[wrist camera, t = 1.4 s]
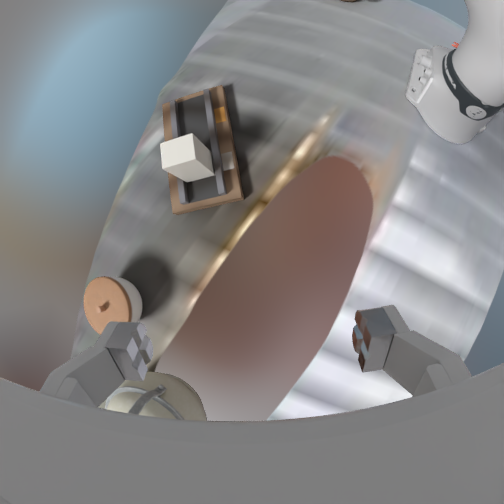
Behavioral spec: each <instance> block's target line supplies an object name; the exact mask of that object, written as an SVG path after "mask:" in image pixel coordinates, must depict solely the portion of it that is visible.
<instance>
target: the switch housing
mask: <svg viewBox="0 0 504 504" xmlns="http://www.w3.org/2000/svg"><path fill="white" fill-rule="evenodd" d="M162 107H163V122H164V136H165V142H166V141H169V140H172V139H175V138H178V137H181V136H185V135H188V134H191V133H193V134H194V135H195V136H196V137H197V138H198V139H199V140H200V141H201V142H202V143H203V144H204V145H205V146H206V147H207V148H208V149H209V150H210V151H211V152H212V156H213V163H214V169H215V175H214V176H210V177H206V178H202V179H199V180H195V181H191V182H185V181H183V180H182V179H180V178H178V177H176V176H174V175H173V174H171V173H169V172H168V178H169V187H170V195H171V203H172V211H173V214H176V215H179V214H183V213H188V212H192V211H196V210H200V209H204V208H209V207H213V206H217V205H222V204H226V203H231V202H235V201H240V200H244V196H243V190H242V185H241V179H240V173H239V168H238V162H237V157H236V151H235V145H234V140H233V134H232V128H231V123H230V117H229V111H228V106H227V100H226V95H225V90H224V88H223V86H222V85H220V86H217V87H213V88H210V89H205V90H203V91H200V92H197V93H194V94H191V95H188V96H185V97H182V98H179V99H176V100H172V101H170V102H168V103H165V104H162Z"/></svg>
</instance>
